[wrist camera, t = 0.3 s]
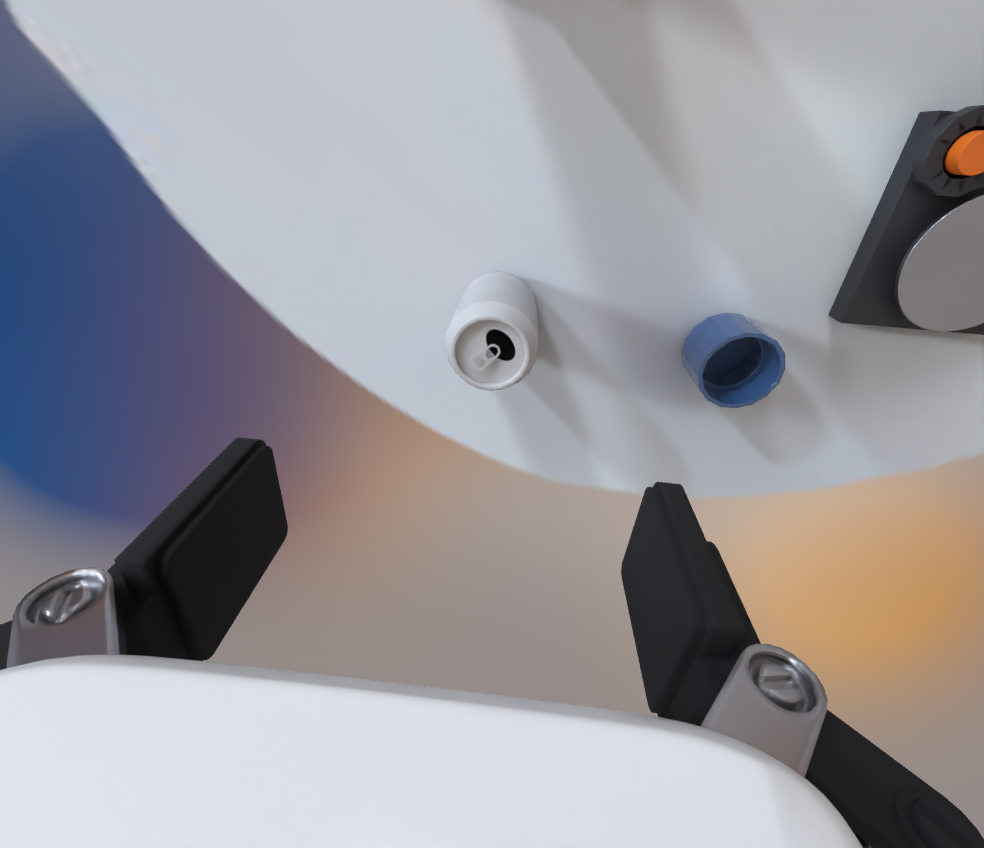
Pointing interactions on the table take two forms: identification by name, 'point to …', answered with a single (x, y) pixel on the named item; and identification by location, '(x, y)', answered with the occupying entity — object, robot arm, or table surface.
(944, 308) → the pan
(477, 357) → the can
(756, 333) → the blue cup
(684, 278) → the table surface
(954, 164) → the button
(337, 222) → the table surface
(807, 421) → the table surface
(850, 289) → the scale
